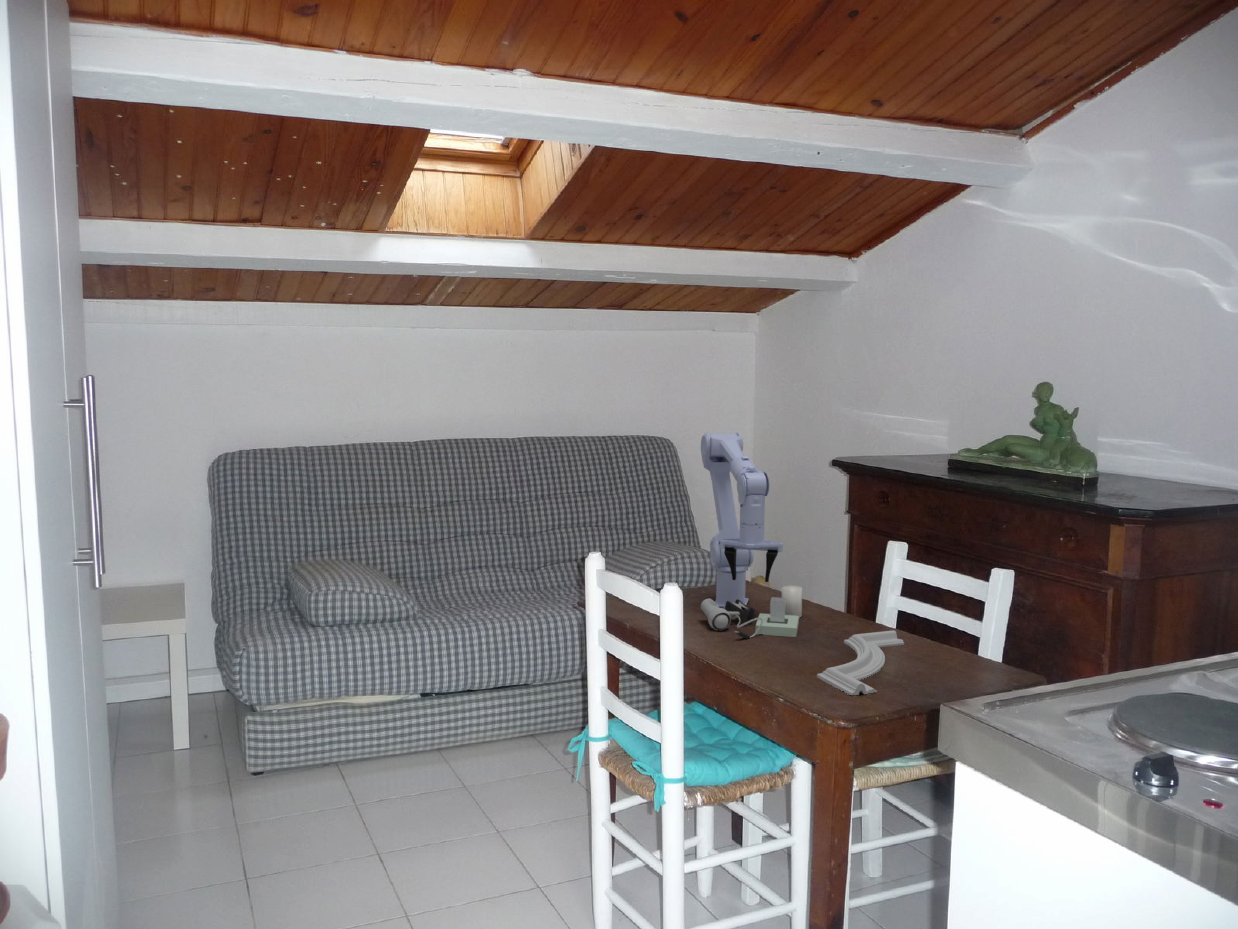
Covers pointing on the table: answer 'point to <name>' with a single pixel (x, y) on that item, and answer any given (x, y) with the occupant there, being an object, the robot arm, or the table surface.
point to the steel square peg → (777, 610)
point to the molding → (861, 662)
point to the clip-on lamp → (729, 615)
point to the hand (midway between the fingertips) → (750, 580)
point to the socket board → (778, 626)
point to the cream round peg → (792, 600)
